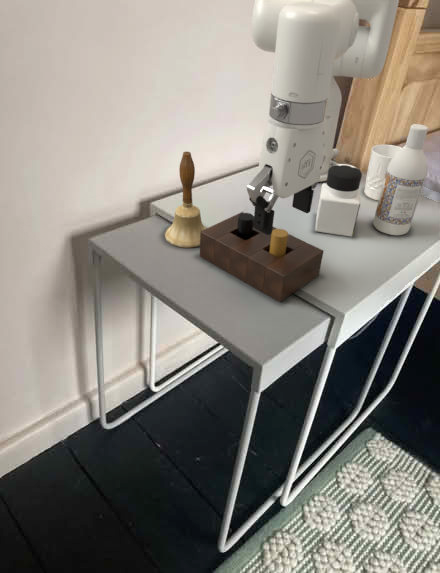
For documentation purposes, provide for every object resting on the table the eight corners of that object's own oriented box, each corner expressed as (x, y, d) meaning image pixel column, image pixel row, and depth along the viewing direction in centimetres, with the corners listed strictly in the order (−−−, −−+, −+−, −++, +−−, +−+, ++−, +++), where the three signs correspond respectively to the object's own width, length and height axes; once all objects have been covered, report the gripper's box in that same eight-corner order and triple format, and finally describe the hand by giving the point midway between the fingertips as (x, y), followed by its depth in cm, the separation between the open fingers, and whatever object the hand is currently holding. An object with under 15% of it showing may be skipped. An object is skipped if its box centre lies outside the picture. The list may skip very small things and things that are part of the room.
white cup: (354, 194, 110) (365, 150, 104) (371, 184, 114) (382, 141, 108) (387, 206, 105) (400, 161, 100) (403, 195, 110) (416, 151, 104)
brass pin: (285, 274, 83) (291, 233, 78) (275, 280, 81) (281, 238, 76) (273, 268, 84) (278, 227, 79) (263, 274, 83) (268, 232, 78)
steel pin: (253, 257, 87) (257, 216, 82) (243, 262, 85) (247, 221, 80) (241, 251, 88) (245, 211, 83) (232, 256, 86) (235, 215, 82)
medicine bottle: (352, 237, 94) (366, 178, 87) (314, 232, 95) (325, 173, 88) (352, 220, 100) (365, 163, 93) (316, 215, 101) (326, 158, 93)
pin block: (199, 256, 86) (200, 231, 83) (239, 235, 92) (241, 211, 89) (279, 302, 77) (284, 276, 74) (318, 275, 83) (324, 250, 80)
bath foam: (377, 215, 102) (403, 117, 90) (411, 225, 99) (443, 125, 87) (368, 229, 97) (394, 127, 85) (404, 240, 94) (436, 136, 82)
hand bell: (183, 253, 87) (184, 166, 77) (155, 233, 91) (153, 150, 82) (219, 238, 91) (223, 155, 82) (190, 220, 96) (192, 140, 87)
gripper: (279, 131, 60) (265, 250, 70) (355, 103, 70) (333, 210, 80) (233, 115, 64) (226, 230, 74) (311, 90, 74) (296, 194, 84)
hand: (282, 220), depth 77 cm, fingers open, 9 cm apart
